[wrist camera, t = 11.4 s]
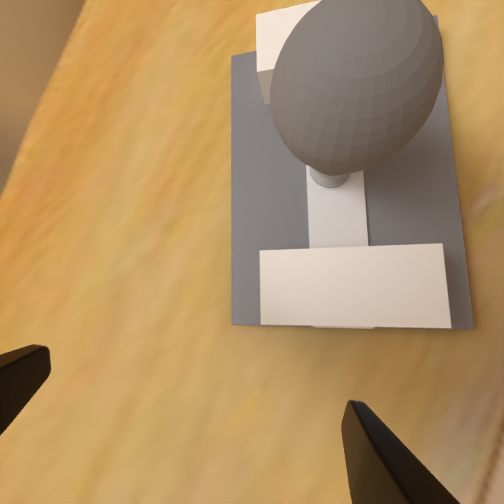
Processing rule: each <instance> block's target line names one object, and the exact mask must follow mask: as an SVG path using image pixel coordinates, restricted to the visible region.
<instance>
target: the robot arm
mask: <svg viewBox="0 0 504 504" xmlns="http://www.w3.org/2000/svg"><path fill="white" fill-rule="evenodd" d="M50 372H51V362H50V351H49V348H48V347H46V346H42V345H35V344H34V345H29V346H26V347H23V348H20V349H17V350H13V351H10V352H7V353H4V354H1V355H0V435H1V434H2V433H3V432H4V431H5V430H6V429H7V427H8V426H9V425H10V424H11V423H12V421H13V420H14V419H15V418H16V417H17V415H18V414H19V413H20V412H21V410H22V409H23V408H24V407H25V405H26V404H27V403H28V402H29V400H30V399H31V398H32V397H33V395H34V394H35V393H36V392H37V391H38V389H39V388H40V387H41V386H42V384H43V383H44V382H45V381H46V379H47V378H48V376H49V374H50ZM341 430H342V438H343V445H344V453H345V460H346V467H347V474H348V481H349V488H350V495H351V500H352V504H460V503H459V502H458V501H457V500H456V499H455V498H454V497H453V496H452V494H451V493H450V492H449V491H448V490H447V489H446V488H445V487H444V486H443V485H442V484H441V483H440V482H439V481H438V480H437V479H436V478H435V477H434V475H433V474H432V473H431V472H430V471H429V470H428V469H427V468H426V467H425V466H424V465H423V464H422V463H421V462H420V461H419V460H418V459H417V458H416V456H415V455H414V454H413V453H412V452H411V451H410V450H409V449H408V448H407V447H406V446H405V445H404V444H403V443H402V442H401V441H400V440H399V439H398V437H397V436H396V435H395V434H394V433H393V432H392V431H391V430H390V429H389V428H388V427H387V426H386V425H385V424H384V423H383V422H382V421H381V420H380V418H379V417H378V416H377V415H376V414H375V413H374V412H373V411H372V410H371V409H370V408H369V407H368V406H367V405H366V404H365V403H364V402H361V401H356V400H349V401H348V402H347V405H346V409H345V412H344V416H343V420H342V425H341Z"/></svg>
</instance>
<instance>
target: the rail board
mask: <svg viewBox="0 0 504 504" xmlns="http://www.w3.org/2000/svg"><path fill="white" fill-rule="evenodd" d="M320 1H321V0H318V1H314V2H309V3H305V4H301V5H296V6H292V7H287V8H283V9H279V10H274V11H270V12H266V13H261V14H257V15H256V48H257V51H254V52H249V53H244V54H239V55H234V56H231V241H232V325H257V326H306V327H319V328H366V329H374V328H405V329H454V330H475V329H474V321H473V313H472V304H471V296H470V287H469V279H468V270H467V262H466V254H465V245H464V237H463V228H462V220H461V212H460V203H459V195H458V186H457V178H456V170H455V161H454V153H453V144H452V136H451V128H450V119H449V111H448V102H447V94H446V85H445V77H444V69H443V75H442V82H441V88H440V91H439V93H438V96H437V99H436V102H435V105H434V108H433V110H432V112H431V113H430V115H429V117H428V118H427V120H426V122H425V123H424V125H423V126H422V127H421V129H420V130H419V132H418V133H417V134H416V135H415V136H414V137H413V138H412V139H411V140H410V141H409V142H408V143H407V144H406V145H405V146H404V147H403V148H402V149H401V150H400V151H398V152H397V153H395V154H394V155H393V156H391V157H390V158H389V159H387V160H385V161H383V162H381V163H379V164H377V165H375V166H373V167H371V168H369V169H366V170H362V171H359V172H355V173H351V175H350V177H349V178H348V179H347V180H346V181H345V182H344V183H343V184H341V185H339V186H336V187H323V186H320V185H318V184H317V183H316V182H314V180H313V179H312V177H311V175H310V169H309V168H310V166H308V165H305V164H304V163H303V162H301V161H300V160H299V159H297V158H296V157H295V156H294V155H293V154H292V153H291V151H290V150H289V149H288V148H287V147H286V146H285V144H284V143H283V141H282V139H281V137H280V135H279V133H278V131H277V129H276V126H275V123H274V119H273V115H272V111H271V104H270V88H271V82H272V76H273V71H274V67H275V64H276V61H277V59H278V56H279V54H280V51H281V49H282V47H283V45H284V43H285V41H286V40H287V38H288V36H289V35H290V33H291V32H292V30H293V29H294V27H295V26H296V24H297V23H298V22H299V21H300V20H301V18H302V17H303V16H304V15H305V14H306V13H307V12H308V11H309V10H310V9H312V8H313V7H314V6H315V5H316V4H318V3H319V2H320ZM433 17H434V20H435V22H436V24H437V27H438V18H437V15H435V16H433ZM438 29H439V27H438Z"/></svg>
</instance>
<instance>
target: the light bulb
mask: <svg viewBox="0 0 504 504" xmlns="http://www.w3.org/2000/svg"><path fill="white" fill-rule="evenodd" d="M443 66H444V57H443V47H442V40H441V36H440V33H439V29H438V27H437V24H436V22H435V20H434V17H433V16H432V15H431V13H430V12H429V11H428V9H427V8H426V7H425V5H424V4H423V3H422V1H421V0H321V1H320V2H319V3H318V4H316V5H315V6H314V7H313V8H312V9H310V10H309V11H308V12H307V13H306V14H305V15H304V16H303V17H302V18H301V20H300V21H299V22H298V23H297V24H296V26H295V27H294V29H293V30H292V32H291V33H290V35H289V36H288V38H287V40H286V41H285V43H284V45H283V47H282V49H281V51H280V54H279V56H278V59H277V61H276V64H275V67H274V71H273V76H272V82H271V88H270V104H271V111H272V115H273V119H274V123H275V126H276V129H277V131H278V133H279V135H280V137H281V139H282V141H283V143H284V144H285V146H286V147H287V148H288V149H289V150H290V151H291V153H292V154H293V155H294V156H295V157H296V158H297V159H299V160H300V161H301V162H303V163H304V164H305V165H308V166H310V168H309V169H310V175H311V177H312V179H313V180H314V182H316V183H317V184H318V185H320V186H323V187H336V186H339V185H341V184H343V183H344V182H345V181H346V180H347V179H348V178H349V177H350V175H351V173H355V172H359V171H362V170H366V169H369V168H371V167H373V166H375V165H377V164H379V163H381V162H383V161H385V160H387V159H389V158H390V157H391V156H393V155H394V154H395V153H397V152H398V151H400V150H401V149H402V148H403V147H404V146H405V145H406V144H407V143H408V142H409V141H410V140H411V139H412V138H413V137H414V136H415V135H416V134H417V133H418V132H419V130H420V129H421V127H422V126H423V125H424V123H425V122H426V120H427V118H428V117H429V115H430V113H431V112H432V110H433V108H434V105H435V102H436V99H437V96H438V93H439V91H440V88H441V82H442V75H443Z"/></svg>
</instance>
